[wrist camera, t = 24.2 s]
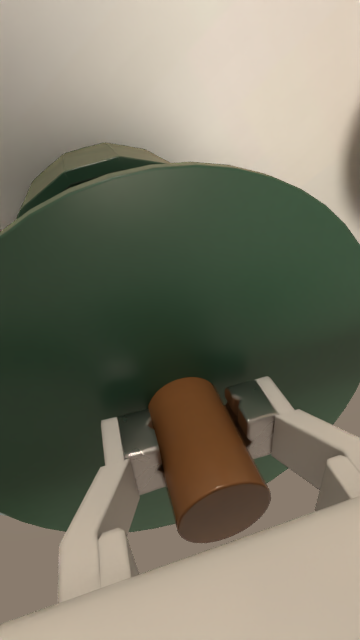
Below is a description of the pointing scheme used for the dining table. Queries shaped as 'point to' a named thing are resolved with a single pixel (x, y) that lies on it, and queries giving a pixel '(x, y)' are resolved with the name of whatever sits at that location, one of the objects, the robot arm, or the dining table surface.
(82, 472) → the pot lid
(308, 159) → the dining table surface
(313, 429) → the robot arm
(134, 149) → the pot
